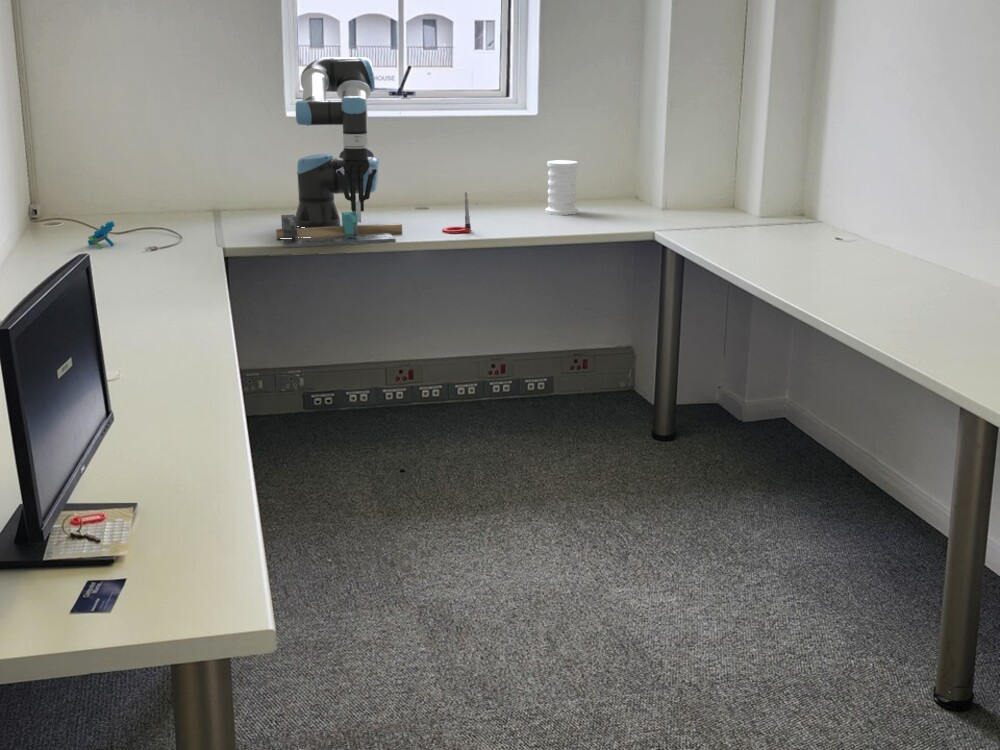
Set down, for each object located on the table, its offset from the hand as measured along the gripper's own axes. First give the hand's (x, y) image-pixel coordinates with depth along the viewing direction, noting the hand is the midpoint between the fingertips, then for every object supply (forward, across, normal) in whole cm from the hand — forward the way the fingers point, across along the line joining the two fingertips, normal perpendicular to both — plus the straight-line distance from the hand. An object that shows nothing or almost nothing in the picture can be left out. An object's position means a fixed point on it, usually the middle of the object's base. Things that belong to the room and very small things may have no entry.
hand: (358, 221), depth 361 cm
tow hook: (+5, +32, -2) cm, 32 cm away
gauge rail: (+4, -6, -4) cm, 8 cm away
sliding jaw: (+3, -3, -4) cm, 6 cm away
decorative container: (+5, +78, +22) cm, 81 cm away
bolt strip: (+4, -8, -10) cm, 13 cm away
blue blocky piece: (+5, -78, +5) cm, 79 cm away
